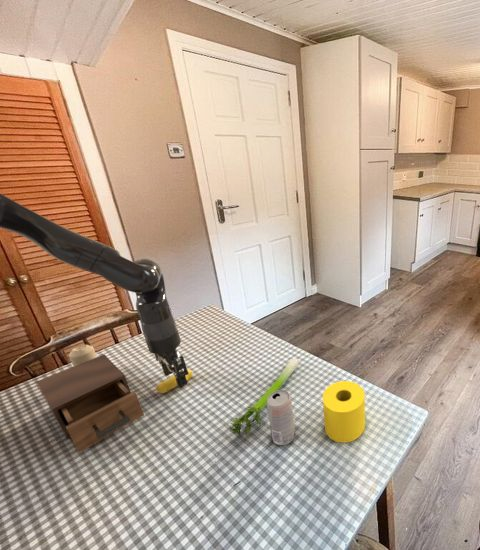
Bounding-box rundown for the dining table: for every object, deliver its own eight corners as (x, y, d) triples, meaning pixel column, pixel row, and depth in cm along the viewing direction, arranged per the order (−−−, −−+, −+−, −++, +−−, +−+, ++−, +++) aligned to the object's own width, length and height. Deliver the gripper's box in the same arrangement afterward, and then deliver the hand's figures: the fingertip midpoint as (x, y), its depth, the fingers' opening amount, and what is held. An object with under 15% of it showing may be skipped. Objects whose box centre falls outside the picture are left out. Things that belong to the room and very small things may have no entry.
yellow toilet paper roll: (317, 434, 73) (314, 404, 69) (336, 404, 82) (334, 376, 78) (355, 448, 69) (354, 417, 66) (370, 415, 78) (370, 386, 75)
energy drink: (288, 423, 76) (282, 385, 72) (299, 436, 72) (295, 397, 68) (268, 436, 73) (261, 397, 68) (279, 450, 69) (273, 411, 64)
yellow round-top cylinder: (161, 396, 84) (156, 386, 83) (157, 394, 86) (153, 384, 85) (196, 377, 91) (192, 367, 90) (191, 375, 93) (187, 366, 92)
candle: (99, 366, 97) (88, 339, 93) (105, 372, 94) (94, 345, 90) (76, 375, 93) (64, 348, 89) (82, 383, 90) (69, 355, 86)
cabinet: (134, 401, 83) (124, 375, 79) (66, 438, 72) (51, 409, 69) (114, 379, 91) (104, 354, 88) (50, 408, 81) (36, 381, 77)
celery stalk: (305, 370, 97) (251, 446, 69) (285, 369, 99) (225, 444, 71) (302, 353, 95) (245, 424, 68) (282, 353, 97) (219, 422, 69)
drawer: (152, 424, 75) (143, 401, 72) (85, 464, 65) (73, 440, 62) (123, 391, 85) (114, 370, 83) (61, 422, 76) (50, 399, 73)
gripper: (134, 330, 83) (151, 377, 89) (157, 347, 75) (173, 398, 81) (164, 318, 88) (177, 363, 94) (188, 334, 81) (201, 382, 87)
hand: (176, 379), depth 88 cm, fingers open, 8 cm apart
